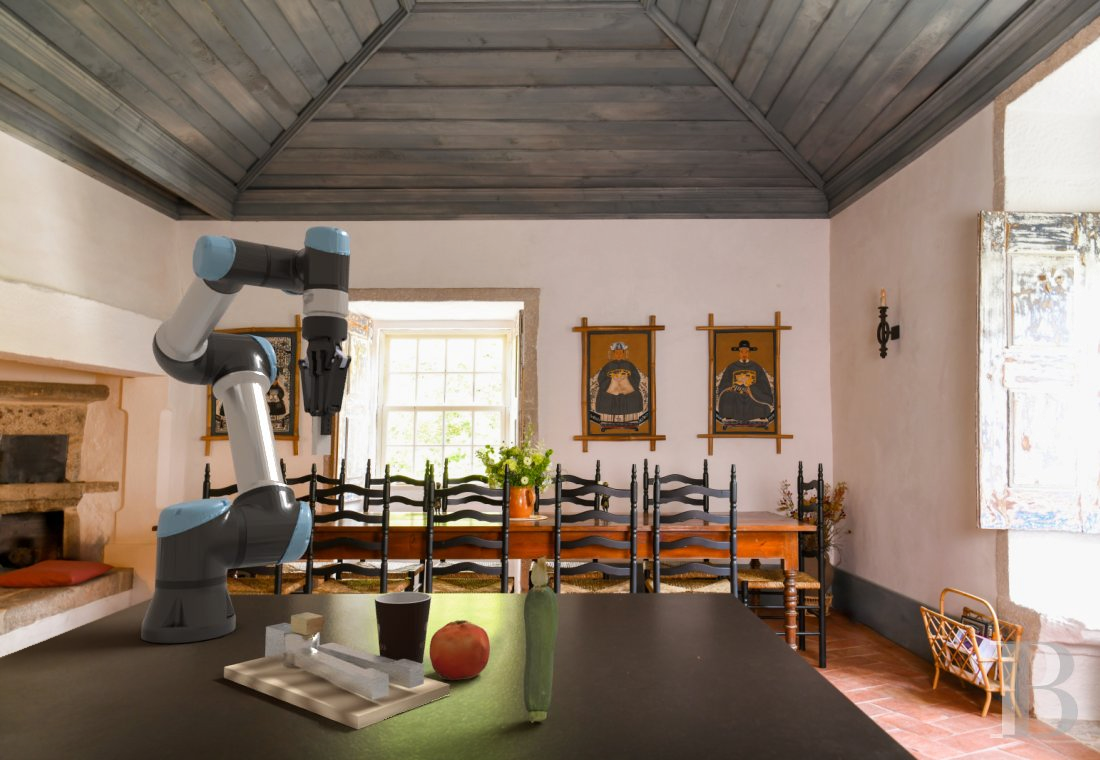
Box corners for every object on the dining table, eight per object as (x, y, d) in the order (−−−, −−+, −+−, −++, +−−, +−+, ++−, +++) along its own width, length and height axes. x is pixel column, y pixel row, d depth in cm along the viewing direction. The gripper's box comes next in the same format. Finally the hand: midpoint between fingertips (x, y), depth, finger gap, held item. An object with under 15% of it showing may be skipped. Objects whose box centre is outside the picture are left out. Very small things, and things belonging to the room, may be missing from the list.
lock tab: (290, 630, 109) (291, 615, 109) (307, 627, 111) (307, 612, 111) (306, 635, 106) (306, 619, 106) (323, 631, 108) (323, 616, 109)
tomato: (440, 690, 102) (441, 630, 102) (419, 672, 110) (420, 617, 111) (502, 680, 106) (502, 623, 107) (477, 663, 114) (478, 610, 115)
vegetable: (522, 713, 93) (523, 552, 95) (556, 713, 93) (557, 552, 95) (524, 727, 89) (525, 557, 90) (560, 726, 89) (560, 557, 91)
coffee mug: (417, 674, 109) (419, 604, 110) (363, 670, 111) (365, 602, 111) (444, 652, 120) (445, 589, 121) (394, 649, 122) (396, 587, 123)
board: (223, 677, 107) (224, 666, 107) (314, 654, 119) (314, 645, 119) (357, 729, 88) (358, 716, 88) (449, 695, 99) (449, 684, 100)
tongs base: (259, 658, 111) (260, 627, 112) (291, 650, 115) (291, 621, 116) (391, 702, 92) (392, 665, 93) (423, 691, 97) (424, 656, 97)
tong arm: (294, 665, 105) (295, 647, 105) (310, 661, 106) (310, 643, 106) (371, 699, 91) (372, 678, 91) (388, 695, 92) (388, 674, 93)
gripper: (285, 318, 129) (280, 454, 127) (327, 310, 120) (323, 456, 119) (323, 324, 135) (319, 454, 133) (366, 316, 126) (362, 455, 124)
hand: (320, 454), depth 126 cm, fingers closed
